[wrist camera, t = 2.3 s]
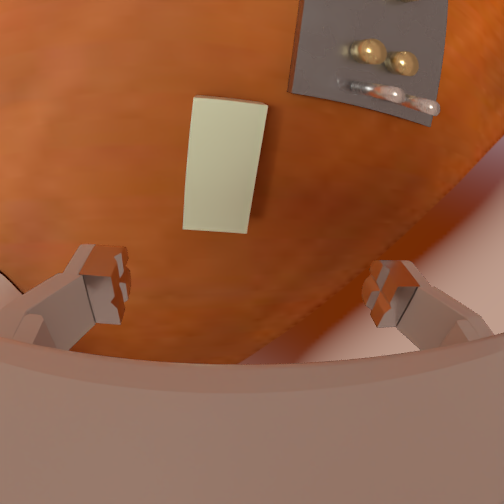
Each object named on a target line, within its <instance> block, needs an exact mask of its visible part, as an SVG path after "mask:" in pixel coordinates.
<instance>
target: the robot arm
mask: <svg viewBox="0 0 504 504" xmlns="http://www.w3.org/2000/svg"><path fill="white" fill-rule="evenodd" d="M127 261H128V252H127V248H126V247H123V246H109V245H95V244H81V245H80V246H79V247H78V249H77V251H76V252H75V254H74V255H73V257H72V259H71V260H70V262H69V263H68V265H67V267H66V268H65V270H64V272H63V273H58V274H56V275H54V276H53V277H51V278H49V279H48V280H46V281H44V282H43V283H41V284H39V285H38V286H36V287H34V288H33V289H31V290H29V291H28V292H26V293H25V294H23V295H22V294H21V293H20V292H19V291H18V290H17V289H16V288H15V287H14V285H13V284H12V283H11V282H10V281H9V280H8V279H6V278H5V277H4V276H3V275H2V274H1V273H0V504H504V333H501V334H497V335H494V334H493V333H492V331H491V330H490V328H489V327H488V325H487V324H486V323H485V321H484V320H483V319H482V317H481V316H480V315H478V314H477V313H475V312H474V311H472V310H470V309H469V308H467V307H466V306H464V305H462V304H461V303H459V302H458V301H456V300H455V299H453V298H452V297H450V296H449V295H447V294H445V293H444V292H442V291H440V290H439V289H437V288H436V287H431V285H430V284H429V283H428V281H427V280H426V279H425V278H424V276H423V275H422V274H421V273H420V271H419V270H418V269H417V268H416V266H415V265H414V264H413V263H412V262H411V261H408V260H374V261H373V263H372V264H371V266H370V269H369V271H370V274H371V275H370V276H369V277H368V278H367V279H365V281H364V284H363V287H362V299H363V302H364V303H365V306H367V307H368V308H370V309H371V313H370V315H371V317H372V319H373V321H374V323H375V325H376V327H377V328H381V327H396V328H397V329H398V330H399V331H401V333H403V334H404V335H405V336H406V337H407V338H408V339H409V340H410V341H411V342H412V343H413V344H414V345H416V346H417V347H418V348H419V349H420V351H415V352H408V353H401V354H394V355H387V356H378V357H370V358H361V359H350V360H339V361H327V362H311V363H293V364H253V365H252V364H251V365H250V364H249V365H247V364H246V365H236V364H193V363H173V362H158V361H146V360H135V359H126V358H117V357H109V356H101V355H94V354H87V353H80V352H74V351H68V350H69V349H70V348H71V347H72V346H73V345H74V344H76V343H77V342H78V341H79V340H80V339H81V338H82V337H83V336H84V335H85V334H86V333H87V332H88V331H89V330H90V329H91V328H92V327H93V326H94V325H95V323H105V324H118V325H121V322H122V319H123V315H124V312H125V306H124V302H125V301H127V300H128V298H129V294H130V287H131V275H130V270H129V269H128V268H127V267H126V264H127Z"/></svg>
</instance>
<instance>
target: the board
mask: <svg viewBox="0 0 504 504" xmlns="http://www.w3.org/2000/svg"><path fill="white" fill-rule="evenodd" d="M267 110H268V105H266V104H264V103H263V102H258V101H250V100H243V99H234V98H225V97H215V96H203V95H196V96H195V97H194V99H193V107H192V116H191V125H190V135H189V145H188V156H187V168H186V182H185V196H184V214H183V229H187V230H202V231H217V232H231V233H244V234H247V228H248V222H249V216H250V210H251V204H252V198H253V192H254V186H255V180H256V174H257V168H258V162H259V157H260V151H261V145H262V139H263V133H264V127H265V121H266V116H267Z"/></svg>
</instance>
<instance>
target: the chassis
mask: <svg viewBox="0 0 504 504" xmlns="http://www.w3.org/2000/svg"><path fill="white" fill-rule="evenodd" d="M447 10H448V0H300V1H299V9H298V16H297V24H296V31H295V39H294V46H293V53H292V60H291V67H290V75H289V82H288V89H287V92H290V93H295V94H301V95H307V96H313V97H318V98H323V99H329V100H333V101H338V102H343V103H347V104H352V105H356V106H360V107H364V108H368V109H372V110H376V111H379V112H383V113H387V114H390V115H394V116H397V117H400V118H404V119H407V120H410V121H413V122H416V123H419V124H422V125H425V126H428V127H431V122H432V118H433V116H437V115H438V114H439V112H440V105H439V104H438V102H436V98H437V93H438V87H439V81H440V75H441V68H442V61H443V54H444V45H445V36H446V25H447Z"/></svg>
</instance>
